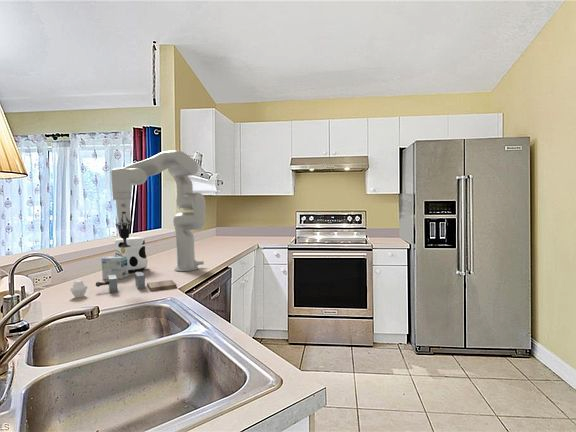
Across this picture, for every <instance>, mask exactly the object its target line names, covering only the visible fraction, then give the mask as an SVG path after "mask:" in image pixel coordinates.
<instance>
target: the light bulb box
mask: <svg viewBox="0 0 576 432" xmlns="http://www.w3.org/2000/svg"><path fill="white" fill-rule="evenodd" d="M101 273H102V275H101V276H102V279H103V280H106V279H107V280H108V275H116V277H117V280H119V279H121V280H122V279H124V278H125V279H126V278H127V277H129V272H128V261H127V256H115V255H114V256H113V255H112V256H109V255H108V256H105V257H101Z"/></svg>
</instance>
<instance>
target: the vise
mask: <svg viewBox="0 0 576 432" xmlns="http://www.w3.org/2000/svg"><path fill="white" fill-rule="evenodd" d="M145 279H146V277H145V274H144V272H143V271H134V280H135V288H136V289H137V290H145V289H146V280H145ZM102 286H108V290H109V294H115V293H118V292H119V290H118V279H117V277H116V275H108V279H107V281H97V282H96V283H95V287H97V288H98V287H99V288H100V287H102Z"/></svg>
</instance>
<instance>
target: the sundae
mask: <svg viewBox="0 0 576 432" xmlns="http://www.w3.org/2000/svg"><path fill="white" fill-rule="evenodd" d="M121 219H122V218H121ZM127 220H128V219H127ZM122 222H123V221H122ZM115 225H116V227H117V230H118V234H119V235H118V236H119V237H120V238H121V222H119V221H118V222H117V223H116V224H115ZM131 225H132V222H129V221H128V229H129V235H130V232H131ZM122 226H123V225H122ZM122 239H123V241H124V243H123V245H122V246H120V248H124V247H131V246H130V245H127V243H126V239H127V238H122Z"/></svg>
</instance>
